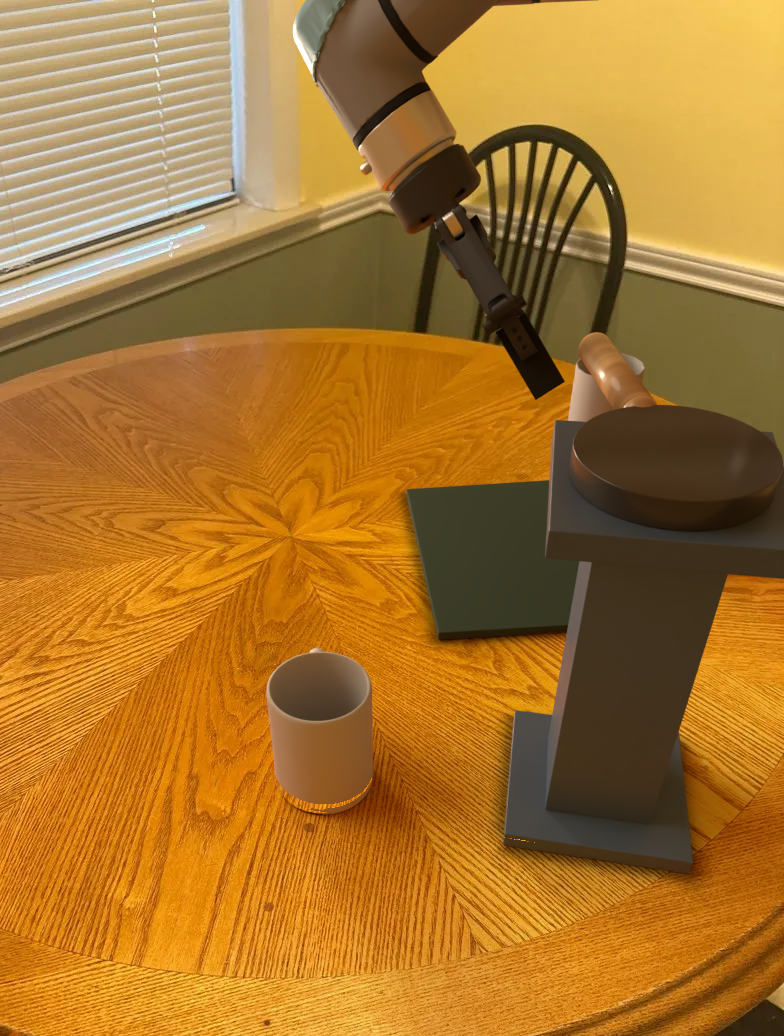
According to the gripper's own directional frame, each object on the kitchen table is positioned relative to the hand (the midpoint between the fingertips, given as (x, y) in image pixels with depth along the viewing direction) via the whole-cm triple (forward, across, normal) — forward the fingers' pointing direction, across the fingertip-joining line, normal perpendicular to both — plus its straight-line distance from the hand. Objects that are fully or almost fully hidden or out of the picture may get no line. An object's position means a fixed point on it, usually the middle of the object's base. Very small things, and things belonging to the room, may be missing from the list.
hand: (547, 383), depth 80 cm
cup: (+14, -42, +2) cm, 45 cm away
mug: (+16, +18, -32) cm, 40 cm away
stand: (+29, +17, -13) cm, 36 cm away
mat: (+15, -14, -14) cm, 25 cm away
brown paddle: (+4, +22, +4) cm, 22 cm away
